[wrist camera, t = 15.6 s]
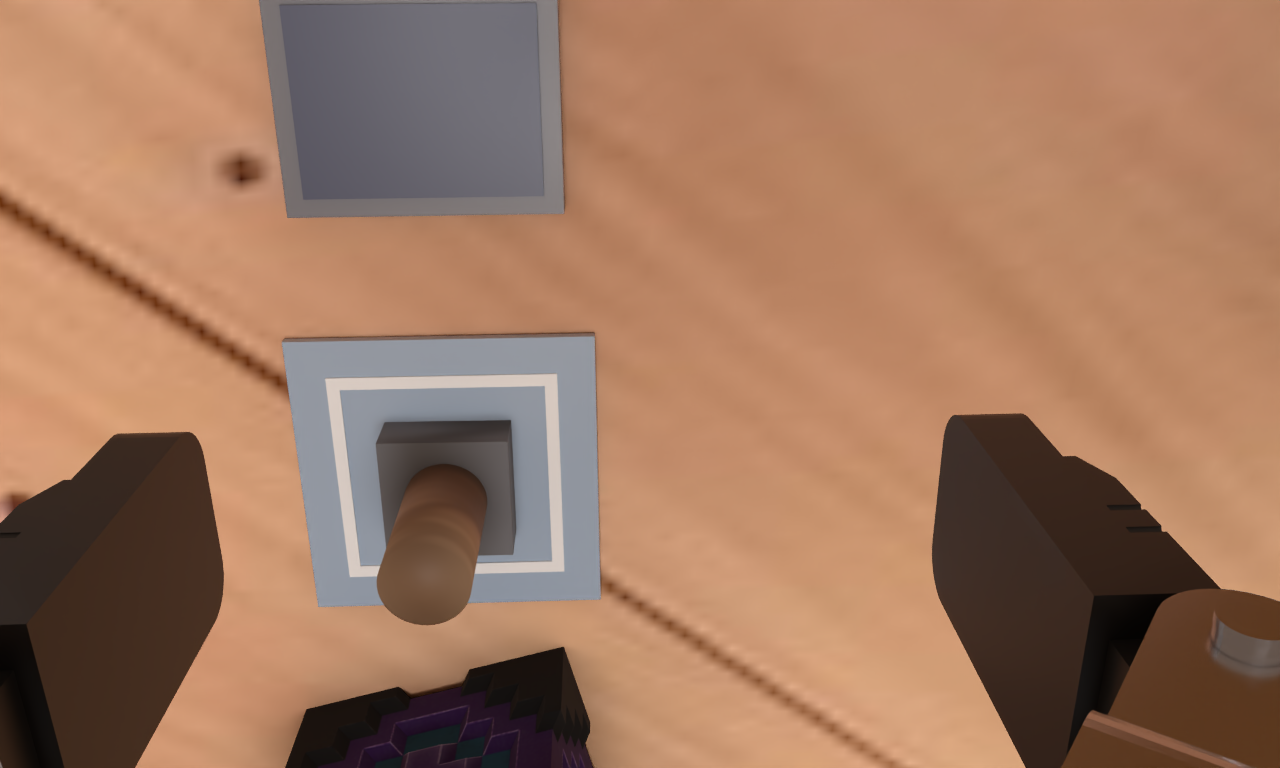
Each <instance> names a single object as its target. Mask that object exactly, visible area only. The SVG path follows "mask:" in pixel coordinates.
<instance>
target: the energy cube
mask: <svg viewBox="0 0 1280 768" xmlns="http://www.w3.org/2000/svg"><path fill="white" fill-rule="evenodd" d="M589 733H590V721H589V718H588V715H587V712H586V709H585V706H584V703H583V700H582V698H581V695H580V692H579V689H578V686H577V683H576V680H575V678H574V675H573V672H572V669H571V666H570V663H569V661H568V658H567V655H566V652H565V649H564V647H561V648H556V649H552V650H548V651H544V652H540V653H536V654H532V655H528V656H524V657H519V658H515V659H511V660H507V661H503V662H499V663H495V664H491V665H487V666H482V667H478V668H474V669H470V670H469V672H468V674H467V677H466V679H465V681H464V683H463V686H461V687H457V688H453V689H449V690H445V691H441V692H437V693H433V694H429V695H425V696H420V697H416V698H412V699H410V698H409V697H408V696H407V695H406V694H405V692H404V691H403V690H402V689H401V688H399V687H396V688H392V689H388V690H384V691H380V692H376V693H372V694H368V695H363V696H359V697H355V698H351V699H347V700H343V701H339V702H335V703H331V704H327V705H323V706H318V707H314V708H310V709H307V710H306V712H305V715H304V718H303V721H302V723H301V726H300V729H299V731H298V734H297V737H296V740H295V742H294V745H293V748H292V751H291V753H290V756H289V759H288V762H287V764H286V767H285V768H593V766H592V763H591V760H590V758H589V755H588V752H587V749H586V746H585V743H586V740H587V738H588V735H589Z"/></svg>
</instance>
